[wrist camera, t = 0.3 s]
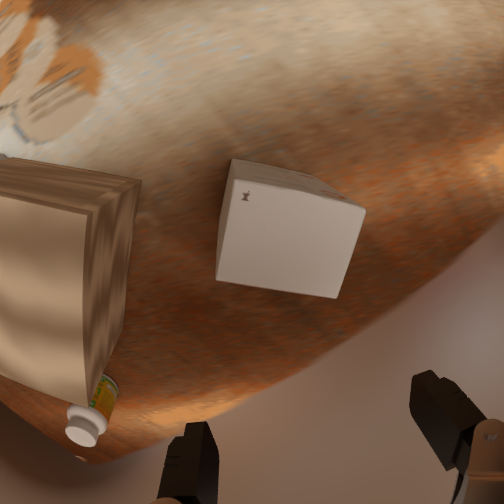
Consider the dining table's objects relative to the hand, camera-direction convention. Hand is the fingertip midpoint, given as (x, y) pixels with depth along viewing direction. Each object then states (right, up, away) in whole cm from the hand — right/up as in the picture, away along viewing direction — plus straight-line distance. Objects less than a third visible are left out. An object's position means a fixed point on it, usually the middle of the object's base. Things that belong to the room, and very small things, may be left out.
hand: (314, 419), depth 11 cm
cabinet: (-23, +7, +20) cm, 31 cm away
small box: (-1, +11, +20) cm, 23 cm away
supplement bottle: (-23, -12, +27) cm, 38 cm away
